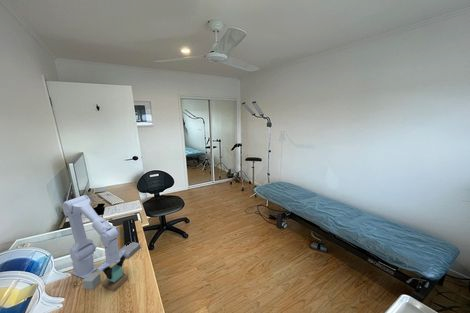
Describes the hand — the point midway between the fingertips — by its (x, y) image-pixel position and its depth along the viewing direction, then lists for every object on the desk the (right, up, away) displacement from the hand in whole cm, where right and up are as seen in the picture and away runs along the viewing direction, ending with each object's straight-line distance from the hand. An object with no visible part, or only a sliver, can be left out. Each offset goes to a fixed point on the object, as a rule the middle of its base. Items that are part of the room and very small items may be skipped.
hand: (114, 274), depth 97 cm
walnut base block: (0, -6, +1) cm, 6 cm away
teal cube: (0, -2, 0) cm, 2 cm away
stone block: (-7, -1, +24) cm, 25 cm away
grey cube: (-11, -5, -1) cm, 12 cm away
